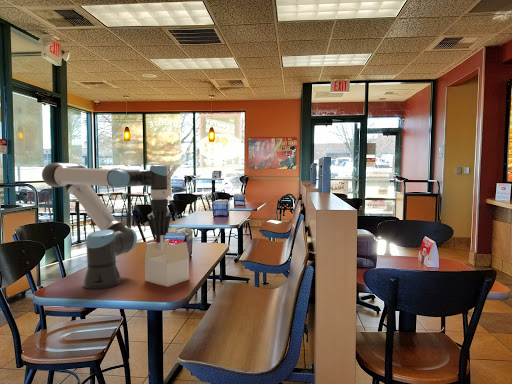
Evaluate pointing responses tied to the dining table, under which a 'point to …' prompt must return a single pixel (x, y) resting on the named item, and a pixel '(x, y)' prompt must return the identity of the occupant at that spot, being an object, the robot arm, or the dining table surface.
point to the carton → (166, 271)
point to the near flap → (176, 252)
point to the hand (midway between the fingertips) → (160, 249)
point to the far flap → (154, 249)
